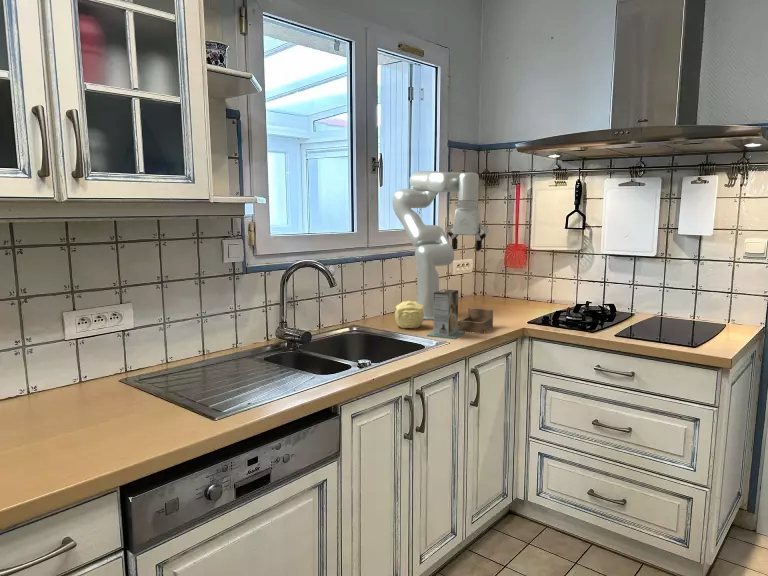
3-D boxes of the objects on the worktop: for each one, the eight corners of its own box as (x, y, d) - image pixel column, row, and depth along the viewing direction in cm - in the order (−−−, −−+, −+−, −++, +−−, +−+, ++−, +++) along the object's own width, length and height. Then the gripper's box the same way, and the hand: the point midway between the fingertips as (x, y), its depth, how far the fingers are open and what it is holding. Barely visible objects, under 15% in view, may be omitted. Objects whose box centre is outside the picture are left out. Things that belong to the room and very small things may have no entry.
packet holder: (457, 331, 217) (458, 313, 216) (468, 324, 228) (468, 307, 227) (483, 333, 212) (483, 315, 211) (492, 327, 224) (493, 309, 223)
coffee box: (442, 329, 217) (443, 288, 214) (458, 331, 214) (458, 290, 211) (433, 334, 209) (433, 292, 206) (449, 336, 206) (449, 293, 203)
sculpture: (395, 330, 218) (395, 303, 217) (394, 324, 230) (394, 298, 229) (425, 330, 219) (425, 303, 217) (421, 324, 231) (422, 298, 229)
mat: (427, 336, 209) (427, 334, 209) (437, 330, 218) (437, 329, 218) (455, 339, 204) (455, 337, 204) (464, 333, 213) (464, 331, 213)
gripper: (443, 205, 216) (442, 249, 219) (486, 206, 207) (484, 252, 210) (450, 204, 222) (449, 248, 225) (492, 205, 214) (491, 250, 217)
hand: (466, 249), depth 218 cm, fingers open, 9 cm apart
